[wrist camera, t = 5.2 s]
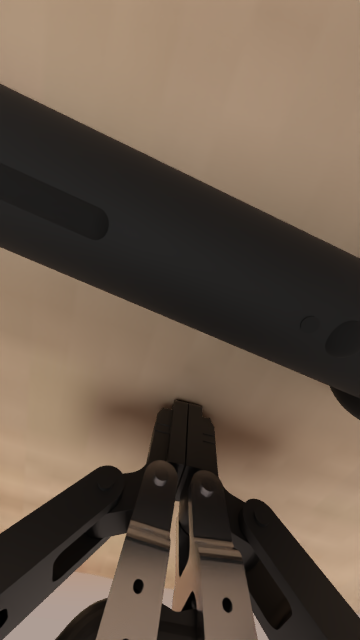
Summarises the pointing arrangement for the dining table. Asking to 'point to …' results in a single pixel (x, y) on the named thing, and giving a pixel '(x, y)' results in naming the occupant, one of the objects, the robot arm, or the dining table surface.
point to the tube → (176, 246)
